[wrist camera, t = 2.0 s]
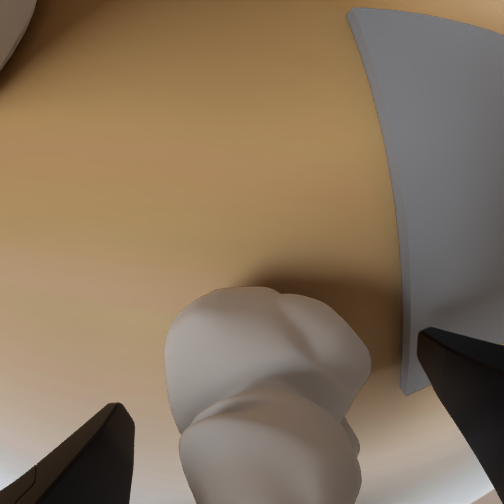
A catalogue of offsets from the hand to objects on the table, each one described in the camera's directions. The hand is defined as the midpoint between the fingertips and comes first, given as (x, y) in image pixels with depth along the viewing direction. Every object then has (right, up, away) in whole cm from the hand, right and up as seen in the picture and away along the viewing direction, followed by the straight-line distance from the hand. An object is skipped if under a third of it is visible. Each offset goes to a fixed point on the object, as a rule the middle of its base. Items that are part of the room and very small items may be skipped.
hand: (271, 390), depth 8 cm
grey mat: (+9, +6, +1) cm, 11 cm away
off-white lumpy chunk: (0, +1, +2) cm, 2 cm away
